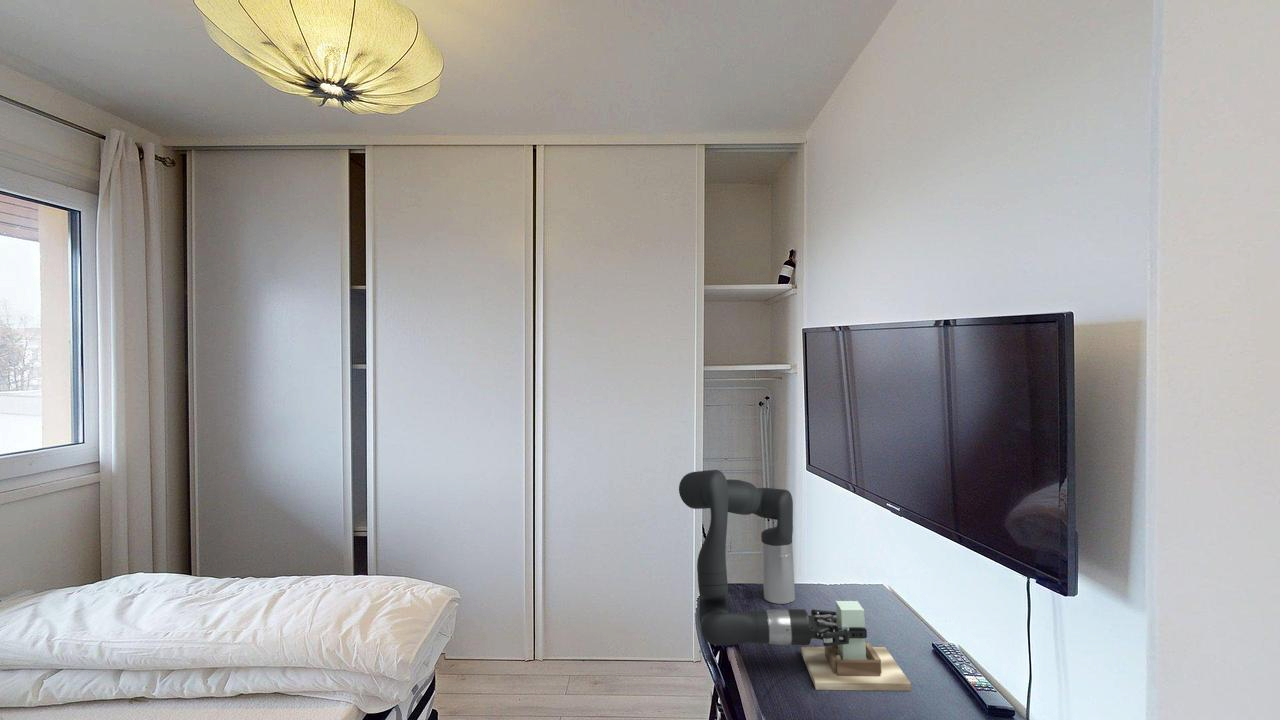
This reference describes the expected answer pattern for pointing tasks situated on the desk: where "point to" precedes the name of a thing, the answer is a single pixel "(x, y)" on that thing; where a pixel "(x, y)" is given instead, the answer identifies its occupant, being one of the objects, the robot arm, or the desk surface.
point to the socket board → (854, 670)
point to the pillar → (851, 617)
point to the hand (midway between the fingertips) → (862, 627)
